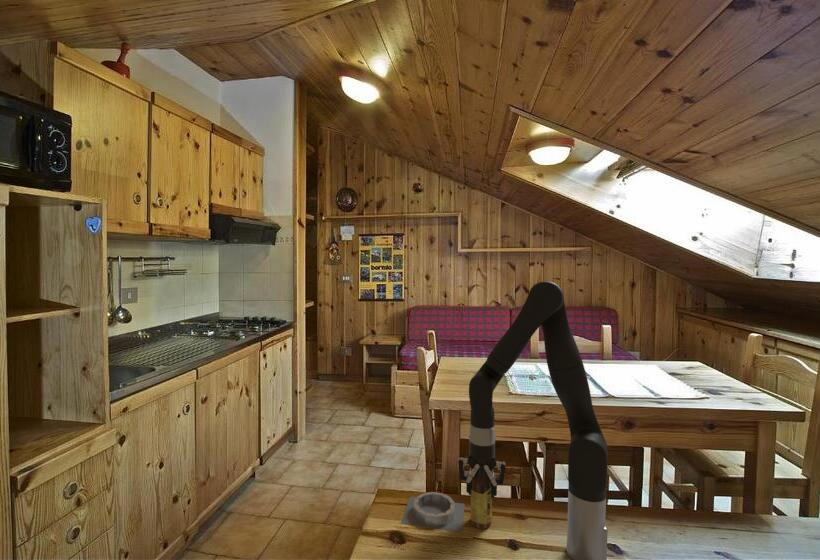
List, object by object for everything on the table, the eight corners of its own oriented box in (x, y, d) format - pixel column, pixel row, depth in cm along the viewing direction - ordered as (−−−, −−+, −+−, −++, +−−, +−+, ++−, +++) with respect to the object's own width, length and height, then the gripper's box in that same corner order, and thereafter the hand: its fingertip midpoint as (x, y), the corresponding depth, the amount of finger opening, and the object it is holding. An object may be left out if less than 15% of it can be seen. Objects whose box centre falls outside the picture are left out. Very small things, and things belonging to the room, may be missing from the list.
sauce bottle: (491, 532, 113) (492, 464, 112) (469, 529, 114) (470, 461, 114) (491, 518, 119) (492, 453, 119) (470, 515, 120) (471, 451, 120)
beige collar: (456, 504, 125) (456, 494, 125) (452, 529, 113) (452, 519, 113) (417, 499, 128) (418, 489, 128) (410, 523, 116) (410, 513, 116)
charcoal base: (464, 507, 126) (464, 503, 126) (461, 536, 112) (461, 532, 112) (409, 500, 129) (410, 496, 129) (400, 527, 115) (400, 523, 115)
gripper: (506, 436, 118) (505, 491, 119) (458, 432, 121) (458, 485, 121) (507, 447, 111) (506, 505, 111) (456, 442, 114) (456, 499, 114)
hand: (481, 494), depth 116 cm, fingers closed on sauce bottle, 6 cm apart
